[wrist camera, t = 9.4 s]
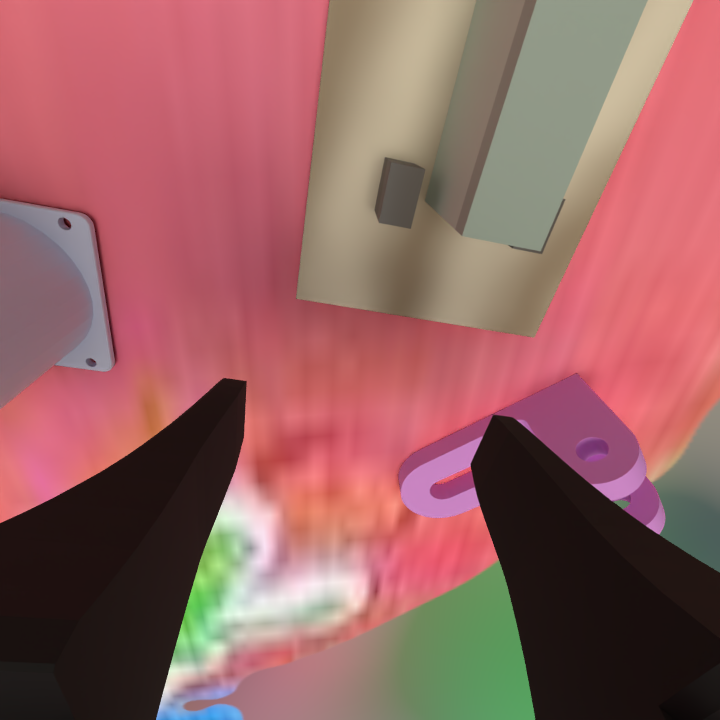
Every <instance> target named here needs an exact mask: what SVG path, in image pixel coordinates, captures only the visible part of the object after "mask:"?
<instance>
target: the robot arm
mask: <svg viewBox="0 0 720 720" xmlns="http://www.w3.org/2000/svg"><path fill="white" fill-rule="evenodd" d="M64 218H66V219H68V220H69V221H70V223H71V228H69V227H68V226H66V225H65V223H64ZM90 358H91V359H93V360H95V361H96V363H95V362H93V361H91V359H90ZM54 365H57V366H65V367H72V368H80V369H88V370H95V371H103V372H106V371H109V370H111V369H112V368H113V366H114V365H115V358H114V352H113V345H112V339H111V332H110V326H109V319H108V313H107V306H106V300H105V293H104V287H103V280H102V274H101V267H100V261H99V255H98V248H97V242H96V235H95V229H94V225H93V222H92V220H91V219H90V218H89V217H88V216H87V215H85V214H83V213H80V212H75V211H69V210H64V209H58V208H52V207H47V206H41V205H35V204H30V203H24V202H19V201H13V200H7V199H2V198H0V409H1V408H3V407H4V406H5V405H6V404H7V403H9V402H10V401H11V400H12V399H14V398H15V397H16V396H17V395H18V394H20V393H21V392H22V391H23V390H24V389H26V388H27V387H28V386H29V385H31V384H32V383H33V382H34V381H35V380H37V379H38V378H39V377H40V376H42V375H43V374H44V373H45V372H46V371H48V370H49V369H50V368H51V367H52V366H54ZM246 383H247V381H241V380H234V379H226V378H223V379H222V380H220V381H219V382H218V383H217V384H216V385H215V386H214V387H213V388H212V389H210V390H209V391H208V392H207V393H206V394H205V395H204V396H203V397H202V398H201V399H199V400H198V401H197V402H196V403H195V404H194V405H193V406H191V407H190V408H189V409H188V410H187V411H185V412H184V413H183V414H182V415H181V416H179V417H178V418H177V419H176V420H175V421H173V422H172V423H171V424H170V425H168V426H167V427H166V428H164V429H163V430H162V431H160V432H159V433H158V434H156V435H155V436H154V437H152V438H151V439H150V440H148V441H147V442H146V443H144V444H143V445H142V446H140V447H139V448H137V449H136V450H134V451H133V452H131V453H130V454H128V455H127V456H125V457H124V458H122V459H121V460H119V461H118V462H116V463H114V464H113V465H111V466H110V467H108V468H106V469H105V470H103V471H102V472H100V473H98V474H96V475H95V476H93V477H91V478H89V479H87V480H86V481H84V482H82V483H80V484H78V485H76V486H75V487H73V488H71V489H69V490H67V491H65V492H64V493H62V494H60V495H58V496H56V497H54V498H52V499H50V500H48V501H46V502H44V503H42V504H40V505H38V506H36V507H34V508H32V509H30V510H28V511H26V512H24V513H22V514H20V515H17V516H15V517H13V518H11V519H9V520H6V521H4V522H2V523H0V720H156V717H157V713H158V709H159V705H160V702H161V698H162V694H163V690H164V687H165V683H166V679H167V675H168V672H169V668H170V664H171V661H172V657H173V653H174V649H175V646H176V642H177V639H178V635H179V632H180V628H181V624H182V621H183V617H184V614H185V610H186V607H187V603H188V600H189V596H190V593H191V589H192V586H193V583H194V579H195V576H196V572H197V569H198V565H199V562H200V559H201V556H202V554H203V551H204V548H205V545H206V542H207V540H208V537H209V535H210V532H211V530H212V527H213V525H214V522H215V520H216V517H217V515H218V512H219V510H220V507H221V505H222V502H223V500H224V497H225V495H226V492H227V489H228V487H229V484H230V482H231V479H232V477H233V474H234V472H235V469H236V465H237V461H238V458H239V454H240V450H241V446H242V442H243V438H244V423H245V403H246ZM471 470H472V475H473V481H474V485H475V490H476V494H477V498H478V501H479V504H480V507H481V510H482V513H483V516H484V519H485V521H486V524H487V527H488V530H489V533H490V536H491V538H492V541H493V544H494V547H495V550H496V553H497V555H498V558H499V561H500V564H501V567H502V570H503V573H504V576H505V579H506V582H507V586H508V589H509V594H510V598H511V602H512V606H513V610H514V614H515V618H516V623H517V627H518V631H519V636H520V641H521V645H522V650H523V655H524V659H525V664H526V670H527V675H528V680H529V686H530V691H531V696H532V702H533V708H534V713H535V720H720V573H719V572H718V571H716V570H714V569H713V568H711V567H709V566H708V565H706V564H704V563H702V562H701V561H699V560H698V559H696V558H694V557H692V556H691V555H689V554H688V553H686V552H685V551H683V550H682V549H680V548H679V547H677V546H675V545H674V544H672V543H671V542H669V541H668V540H666V539H665V538H663V537H662V536H660V535H659V534H657V533H656V532H654V531H653V530H651V529H650V528H648V527H647V526H645V525H644V524H643V523H641V522H640V521H638V520H637V519H636V518H634V517H633V516H631V515H630V514H629V513H627V512H626V511H624V510H623V509H622V508H620V507H619V506H618V505H616V504H615V503H614V502H613V501H611V500H610V499H609V498H607V497H606V496H605V495H604V494H602V493H601V492H600V491H599V490H597V489H596V488H595V487H594V486H593V485H591V484H590V483H589V482H588V481H586V480H585V479H584V478H583V477H582V476H580V475H579V474H578V473H577V472H576V471H575V470H573V469H572V468H571V467H570V466H569V465H568V464H566V463H565V462H564V461H563V460H562V459H561V458H560V457H559V456H557V455H556V454H555V453H554V452H553V451H552V450H551V449H550V448H548V447H547V446H546V445H545V444H544V443H543V442H542V441H541V440H539V439H538V438H537V437H536V436H535V435H534V434H533V433H531V432H530V431H529V430H528V429H527V428H526V427H524V426H523V425H522V424H521V423H520V422H518V421H517V420H516V419H514V418H513V417H508V416H501V415H493V416H492V418H491V420H490V423H489V425H488V427H487V429H486V431H485V433H484V436H483V438H482V440H481V442H480V444H479V446H478V448H477V451H476V453H475V455H474V457H473V459H472V461H471Z"/></svg>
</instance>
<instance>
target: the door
mask: <svg viewBox="0 0 720 720" xmlns="http://www.w3.org/2000/svg"><path fill="white" fill-rule="evenodd" d="M647 1H648V0H476V4H475V8H474V12H473V16H472V20H471V24H470V28H469V31H468V35H467V39H466V43H465V47H464V51H463V55H462V59H461V62H460V66H459V70H458V74H457V78H456V82H455V86H454V90H453V93H452V97H451V101H450V105H449V109H448V113H447V117H446V121H445V125H444V128H443V132H442V136H441V140H440V144H439V148H438V152H437V156H436V159H435V163H434V167H433V171H432V175H431V179H430V183H429V187H428V190H427V194H426V198H425V202H426V203H427V204H429V205H430V206H431V207H432V208H433V209H434V210H435V211H436V212H437V213H438V214H439V215H440V216H441V217H442V218H443V219H444V220H445V221H446V222H448V223H449V224H450V225H451V226H452V227H453V228H454V229H455V230H456V231H457V232H458V233H459V234H460V235H461V236H464V237H469V238H474V239H479V240H485V241H490V242H495V243H500V244H505V245H510V246H516V247H521V248H526V249H531V250H536V251H541V249H542V247H543V245H544V242H545V240H546V238H547V235H548V233H549V231H550V228H551V226H552V223H553V221H554V219H555V216H556V214H557V212H558V209H559V207H560V205H561V202H562V200H563V198H564V195H565V193H566V191H567V188H568V186H569V184H570V181H571V179H572V177H573V174H574V172H575V170H576V167H577V165H578V163H579V160H580V158H581V156H582V153H583V151H584V148H585V146H586V144H587V141H588V139H589V137H590V134H591V132H592V130H593V127H594V125H595V123H596V120H597V118H598V116H599V113H600V111H601V109H602V106H603V104H604V102H605V99H606V97H607V95H608V92H609V90H610V88H611V85H612V83H613V81H614V78H615V76H616V74H617V71H618V69H619V66H620V64H621V62H622V59H623V57H624V55H625V52H626V50H627V48H628V45H629V43H630V41H631V38H632V36H633V34H634V31H635V29H636V27H637V24H638V22H639V20H640V17H641V15H642V13H643V10H644V8H645V6H646V3H647Z"/></svg>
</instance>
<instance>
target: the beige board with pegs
mask: <svg viewBox="0 0 720 720" xmlns="http://www.w3.org/2000/svg"><path fill="white" fill-rule="evenodd" d="M692 2H693V0H648V1H647V3H646V6H645V8H644V10H643V13H642V15H641V17H640V20H639V22H638V24H637V27H636V29H635V31H634V34H633V36H632V38H631V41H630V43H629V45H628V48H627V50H626V52H625V55H624V57H623V59H622V62H621V64H620V66H619V69H618V71H617V74H616V76H615V78H614V81H613V83H612V85H611V88H610V90H609V92H608V95H607V97H606V99H605V102H604V104H603V106H602V109H601V111H600V113H599V116H598V118H597V120H596V123H595V125H594V127H593V130H592V132H591V134H590V137H589V139H588V141H587V144H586V146H585V148H584V151H583V153H582V156H581V158H580V160H579V163H578V165H577V167H576V170H575V172H574V174H573V177H572V179H571V181H570V184H569V186H568V188H567V191H566V193H565V195H564V198H563V200H562V202H561V205H560V207H559V209H558V212H557V214H556V216H555V219H554V221H553V223H552V226H551V228H550V231H549V233H548V235H547V238H546V240H545V242H544V245H543V247H542V249H541V251H536V250H531V249H526V248H521V247H516V246H510V245H505V244H500V243H495V242H490V241H485V240H479V239H474V238H469V237H464V236H461V235H460V234H459V233H458V232H457V231H456V230H455V229H454V228H453V227H452V226H451V225H450V224H449V223H448V222H446V221H445V220H444V219H443V218H442V217H441V216H440V215H439V214H438V213H437V212H436V211H435V210H434V209H433V208H432V207H431V206H430V205H429V204H427V203H426V202H425V198H426V194H427V190H428V187H429V183H430V179H431V175H432V171H433V167H434V163H435V159H436V156H437V152H438V148H439V144H440V140H441V136H442V132H443V128H444V125H445V121H446V117H447V113H448V109H449V105H450V101H451V97H452V93H453V90H454V86H455V82H456V78H457V74H458V70H459V66H460V62H461V59H462V55H463V51H464V47H465V43H466V39H467V35H468V31H469V28H470V24H471V20H472V16H473V12H474V8H475V4H476V0H330V1H329V10H328V19H327V28H326V37H325V46H324V54H323V63H322V72H321V81H320V90H319V99H318V108H317V116H316V125H315V134H314V143H313V152H312V161H311V170H310V179H309V187H308V196H307V205H306V214H305V223H304V232H303V241H302V250H301V258H300V267H299V276H298V285H297V294H296V299H301V300H307V301H313V302H319V303H325V304H332V305H338V306H344V307H350V308H356V309H362V310H368V311H374V312H381V313H387V314H393V315H399V316H405V317H411V318H417V319H424V320H430V321H436V322H442V323H448V324H454V325H460V326H466V327H473V328H479V329H485V330H491V331H497V332H503V333H509V334H515V335H522V336H528V337H535V335H536V333H537V331H538V328H539V326H540V324H541V322H542V320H543V318H544V316H545V314H546V311H547V309H548V307H549V305H550V303H551V301H552V299H553V297H554V294H555V292H556V290H557V288H558V286H559V284H560V282H561V280H562V278H563V275H564V273H565V271H566V269H567V267H568V265H569V263H570V261H571V258H572V256H573V254H574V252H575V250H576V248H577V246H578V244H579V241H580V239H581V237H582V235H583V233H584V231H585V229H586V227H587V225H588V222H589V220H590V218H591V216H592V214H593V212H594V210H595V208H596V205H597V203H598V201H599V199H600V197H601V195H602V193H603V191H604V188H605V186H606V184H607V182H608V180H609V178H610V176H611V174H612V172H613V169H614V167H615V165H616V163H617V161H618V159H619V157H620V155H621V152H622V150H623V148H624V146H625V144H626V142H627V140H628V138H629V135H630V133H631V131H632V129H633V127H634V125H635V123H636V121H637V119H638V116H639V114H640V112H641V110H642V108H643V106H644V104H645V102H646V99H647V97H648V95H649V93H650V91H651V89H652V87H653V85H654V82H655V80H656V78H657V76H658V74H659V72H660V70H661V68H662V66H663V63H664V61H665V59H666V57H667V55H668V53H669V51H670V49H671V46H672V44H673V42H674V40H675V38H676V36H677V34H678V32H679V29H680V27H681V25H682V23H683V21H684V19H685V17H686V15H687V12H688V10H689V8H690V6H691V4H692Z"/></svg>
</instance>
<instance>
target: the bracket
mask: <svg viewBox="0 0 720 720" xmlns="http://www.w3.org/2000/svg"><path fill="white" fill-rule="evenodd" d="M493 415H501V416H508V417H513V418H514V419H516V420H517V421H518V422H520V423H521V424H522V425H523V426H524V427H526V428H527V429H528V430H529V431H530V432H531V433H533V434H534V435H535V436H536V437H537V438H538V439H539V440H541V441H542V442H543V443H544V444H545V445H546V446H547V447H548V448H550V449H551V450H552V451H553V452H554V453H555V454H556V455H557V456H559V457H560V458H561V459H562V460H563V461H564V462H565V463H566V464H568V465H569V466H570V467H571V468H572V469H573V470H575V471H576V472H577V473H578V474H579V475H580V476H582V477H583V478H584V479H585V480H586V481H588V482H589V483H590V484H591V485H593V486H594V487H595V488H596V489H597V490H599V491H600V492H601V493H602V494H604V495H605V496H606V497H607V498H609V499H610V500H611V501H617V500H624V501H628V502H630V504H629V506H628V507H626V508H625V509H623V510H624V511H626V512H627V513H629V514H630V515H631V516H633V517H634V518H636V519H637V520H638V521H640V522H641V523H643V524H644V525H645V526H647V527H648V528H650V529H651V530H653V531H654V532H656V533H657V534H660V532H661V531H662V529H663V527H664V524H665V512H664V508H663V506H662V503H661V501H660V498H659V496H658V493H657V491H656V489H655V487H654V486H653V484H652V483H651V482H650V481H649V480H648V478H647V477H646V462H645V459H644V456H643V454H642V451H641V449H640V446H639V443H638V441H637V439H636V437H635V435H634V434H633V433H632V432H631V431H630V430H629V428H628V427H627V426H626V425H625V424H624V423H623V422H622V421H621V420H620V419H619V418H618V417H617V416H616V415H615V413H614V412H613V411H612V410H611V409H610V408H609V407H608V406H607V405H606V404H605V403H604V402H603V401H602V400H601V399H600V397H599V396H598V395H597V394H596V393H595V392H594V391H593V390H592V389H591V388H590V387H589V386H588V385H587V384H586V382H585V381H584V380H583V379H582V378H581V377H580V376H579V375H578V374H577V373H576V374H574V375H572V376H570V377H568V378H566V379H564V380H562V381H560V382H558V383H556V384H554V385H551V386H549V387H547V388H545V389H543V390H541V391H539V392H537V393H535V394H533V395H531V396H529V397H527V398H525V399H523V400H521V401H519V402H517V403H515V404H513V405H511V406H508V407H506V408H504V409H502V410H500V411H498V412H496V413H494V414H492V415H490V416H488V417H486V418H484V419H482V420H480V421H478V422H476V423H474V424H472V425H470V426H468V427H465V428H463V429H461V430H459V431H457V432H455V433H453V434H451V435H449V436H447V437H445V438H443V439H441V440H439V441H437V442H435V443H433V444H431V445H429V446H427V447H425V448H422V449H420V450H419V451H417V452H415V453H414V454H412V455H411V456H410V457H408V458H407V459H406V461H405V462H404V463H403V465H402V466H401V468H400V471H399V485H400V492H401V498H402V500H403V502H404V504H405V505H406V506H407V507H408V508H409V509H410V510H411V511H413V512H414V513H416V514H419V515H422V516H425V517H431V518H445V517H451V516H455V515H458V514H461V513H464V512H466V511H468V510H471V509H473V508H475V507H478V506H480V504H479V501H478V498H477V494H476V490H475V485H474V481H473V475H472V471H471V472H469V473H466V474H464V475H462V476H460V477H458V478H455V479H453V480H451V481H449V482H447V483H444V484H434V483H436V482H438V481H440V480H442V479H444V478H446V477H448V476H451V475H453V474H455V473H457V472H459V471H462V470H464V469H466V468H468V467H470V466H471V461H472V459H473V457H474V455H475V453H476V451H477V448H478V446H479V444H480V442H481V440H482V438H483V436H484V433H485V431H486V429H487V427H488V425H489V423H490V420H491V418H492V416H493Z"/></svg>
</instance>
